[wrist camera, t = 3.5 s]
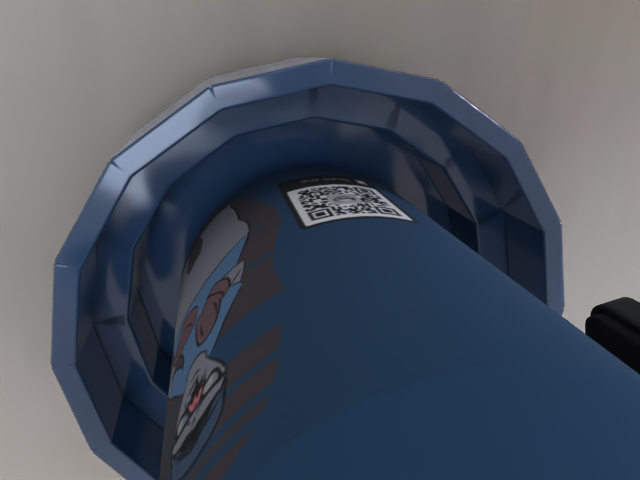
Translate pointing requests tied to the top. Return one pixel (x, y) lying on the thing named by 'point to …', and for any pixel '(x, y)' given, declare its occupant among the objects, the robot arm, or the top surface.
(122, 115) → the top surface
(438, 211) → the bowl
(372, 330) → the soda can
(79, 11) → the top surface
